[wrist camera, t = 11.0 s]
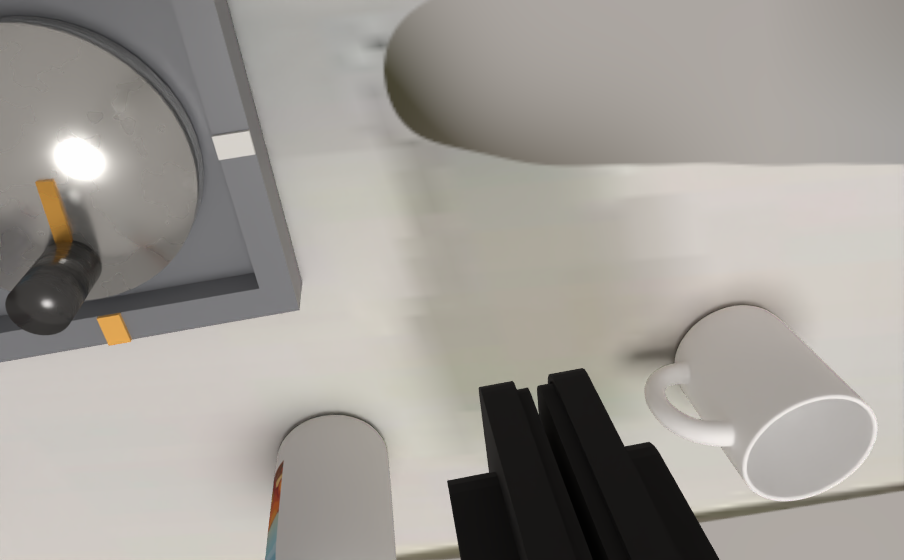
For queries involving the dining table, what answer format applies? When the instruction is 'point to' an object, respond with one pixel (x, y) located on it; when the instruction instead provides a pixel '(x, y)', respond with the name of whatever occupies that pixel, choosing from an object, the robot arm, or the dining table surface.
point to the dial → (86, 171)
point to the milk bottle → (332, 494)
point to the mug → (765, 404)
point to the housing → (224, 189)
